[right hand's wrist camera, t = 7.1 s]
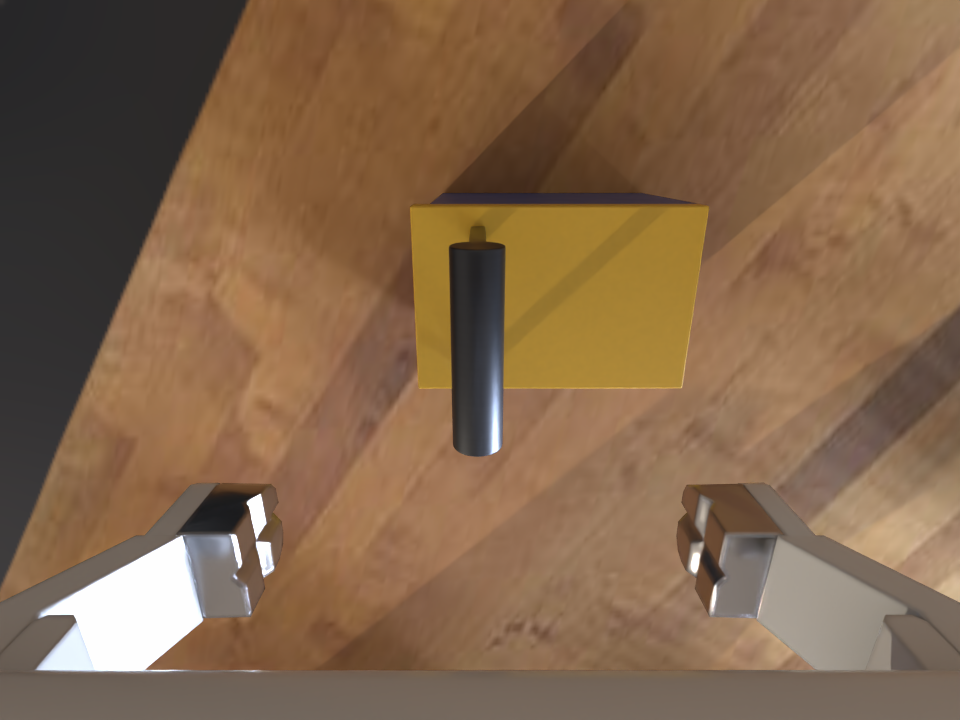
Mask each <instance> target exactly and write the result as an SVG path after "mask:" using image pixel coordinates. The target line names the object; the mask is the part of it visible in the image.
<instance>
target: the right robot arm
mask: <svg viewBox="0 0 960 720" xmlns="http://www.w3.org/2000/svg"><path fill="white" fill-rule="evenodd" d="M278 503H279V502H278V497H277V493H276V488H275V487H274V486H273V485H272V484H244V483H221V484H220V483H196V484H192V485H190V486H189V487H188V488H187V489H186V490H185V492H184V493H183V494H182V495H181V496H180V497H179V498H178V499H177V500H176V501H175V503H174V504H173V505H172V506H171V507H170V508H169V509H168V510H167V511H166V512H165V514H164V515H163V516H162V517H161V518H160V519H159V520H158V521H157V522H156V523H155V525H154V526H153V527H152V528H151V529H150V530H149V531H148V532H147V533H146V534H145V536H134V537H132V538H130V539H128V540H126V541H124V542H122V543H120V544H118V545H116V546H114V547H112V548H110V549H108V550H106V551H104V552H102V553H100V554H98V555H96V556H94V557H92V558H90V559H88V560H86V561H83V562H81V563H79V564H77V565H75V566H73V567H71V568H69V569H67V570H65V571H63V572H61V573H59V574H57V575H55V576H53V577H51V578H49V579H47V580H45V581H43V582H41V583H39V584H37V585H35V586H33V587H31V588H29V589H27V590H25V591H23V592H21V593H19V594H16V595H14V596H12V597H10V598H8V599H6V600H4V601H2V602H0V720H960V603H959V602H957V601H955V600H953V599H951V598H949V597H947V596H945V595H943V594H941V593H939V592H937V591H935V590H933V589H931V588H929V587H927V586H925V585H923V584H921V583H919V582H917V581H915V580H913V579H911V578H909V577H907V576H905V575H903V574H901V573H899V572H897V571H895V570H893V569H891V568H889V567H886V566H884V565H882V564H880V563H878V562H876V561H874V560H872V559H870V558H868V557H866V556H864V555H862V554H860V553H858V552H856V551H854V550H852V549H850V548H848V547H846V546H844V545H842V544H840V543H838V542H836V541H834V540H832V539H830V538H828V537H826V536H815V534H814V533H813V532H812V531H811V530H810V529H809V528H808V527H807V526H806V525H805V523H804V522H803V521H802V520H801V519H800V518H799V517H798V516H797V515H796V514H795V512H794V511H793V510H792V509H791V508H790V507H789V506H788V505H787V504H786V503H785V501H784V500H783V499H782V498H781V497H780V496H779V495H778V494H777V493H776V492H775V490H774V489H773V488H772V487H771V486H770V485H768V484H765V483H738V484H704V485H686V487H685V489H684V491H683V497H682V502H681V503H682V504H683V506H684V508H685V509H686V511H687V513H686V514H685V515H684V516H683V517H682V518H681V519H680V520H679V521H678V528H677V546H678V552H679V556H680V559H681V562H682V564H683V566H684V568H685V570H686V571H687V572H689V573H690V574H692V575H693V576H694V577H696V578H697V579H696V585H695V590H696V592H697V594H698V596H699V597H700V599H701V601H702V603H703V605H704V607H705V609H706V611H707V613H708V615H709V617H733V618H757V621H758V622H759V623H760V624H762V625H763V626H764V627H765V628H766V629H768V630H769V631H770V632H771V633H772V634H774V635H775V636H776V637H777V638H778V639H780V640H781V641H782V642H783V643H784V644H786V645H787V646H788V647H789V648H790V649H792V650H793V651H794V652H795V653H796V654H798V655H799V656H800V657H801V658H802V659H804V660H805V661H806V662H807V663H808V664H810V665H811V666H812V667H813V668H814V669H816V670H145V669H146V668H147V667H148V666H149V665H151V664H152V663H153V662H154V661H155V660H157V659H158V658H159V657H160V656H161V655H163V654H164V653H165V652H166V651H167V650H169V649H170V648H171V647H172V646H173V645H175V644H176V643H177V642H178V641H179V640H181V639H182V638H183V637H184V636H185V635H187V634H188V633H189V632H190V631H191V630H193V629H194V628H195V627H196V626H197V625H199V624H200V623H201V622H202V621H203V618H226V617H251V615H252V613H253V611H254V609H255V607H256V605H257V603H258V601H259V599H260V597H261V596H262V594H263V592H264V590H265V585H264V579H263V578H264V577H266V576H267V575H268V574H270V573H271V572H273V571H274V570H275V568H276V566H277V564H278V561H279V559H280V555H281V551H282V546H283V527H282V521H281V520H280V519H279V518H278V517H277V516H276V515H275V514H274V513H273V511H274V509H275V508H276V506H277V504H278Z"/></svg>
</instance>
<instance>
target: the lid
mask: <svg viewBox="0 0 960 720" xmlns="http://www.w3.org/2000/svg"><path fill="white" fill-rule="evenodd" d="M708 211H709V206H707V205H702V204H414V205H412V206H410V218H411V240H412V261H413V283H414V304H415V326H416V347H417V368H418V387H419V388H452V419H453V446H454V448H455V449H456V450H457V451H458V452H460V453H462V454H464V455H468V456H476V457H479V456H487V455H491V454H494V453H496V452H497V451H498V450H500V448H501V447H502V437H503V388H682V384H683V378H684V371H685V364H686V358H687V351H688V344H689V338H690V331H691V324H692V318H693V311H694V304H695V298H696V291H697V284H698V278H699V271H700V265H701V258H702V251H703V245H704V238H705V231H706V225H707V218H708Z"/></svg>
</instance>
